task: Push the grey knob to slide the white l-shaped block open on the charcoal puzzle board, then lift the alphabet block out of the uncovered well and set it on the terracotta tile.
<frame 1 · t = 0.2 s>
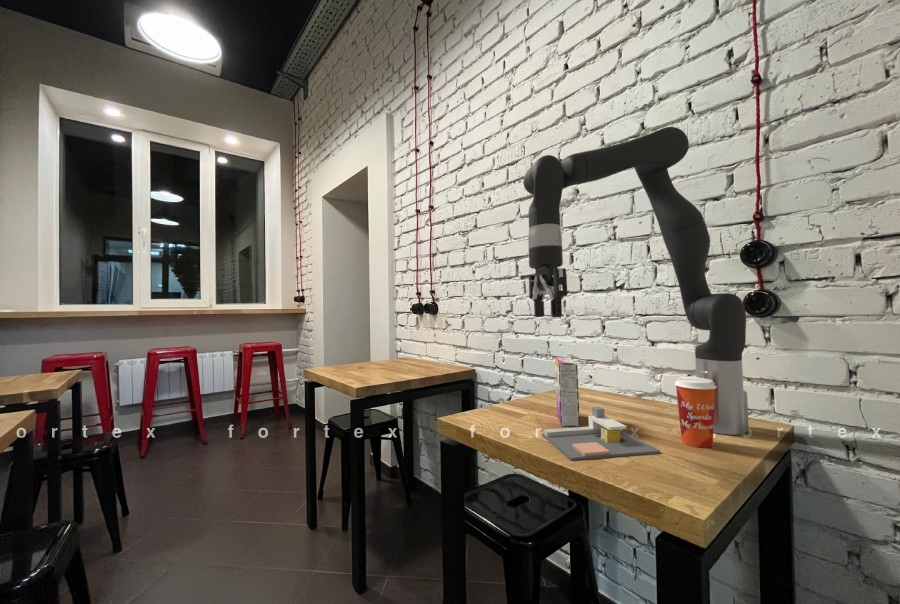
hand: (547, 316, 81), 28 cm above the table, tool pointing down, fingers open, 8 cm apart
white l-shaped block: (606, 421, 82), point 4 cm above the table, slide at 0.0 cm
puzzle board: (596, 443, 79), on the table
paper cup: (697, 444, 78), on the table
candy bar box: (567, 421, 96), on the table
alphabet block: (610, 442, 81), resting in puzzle board
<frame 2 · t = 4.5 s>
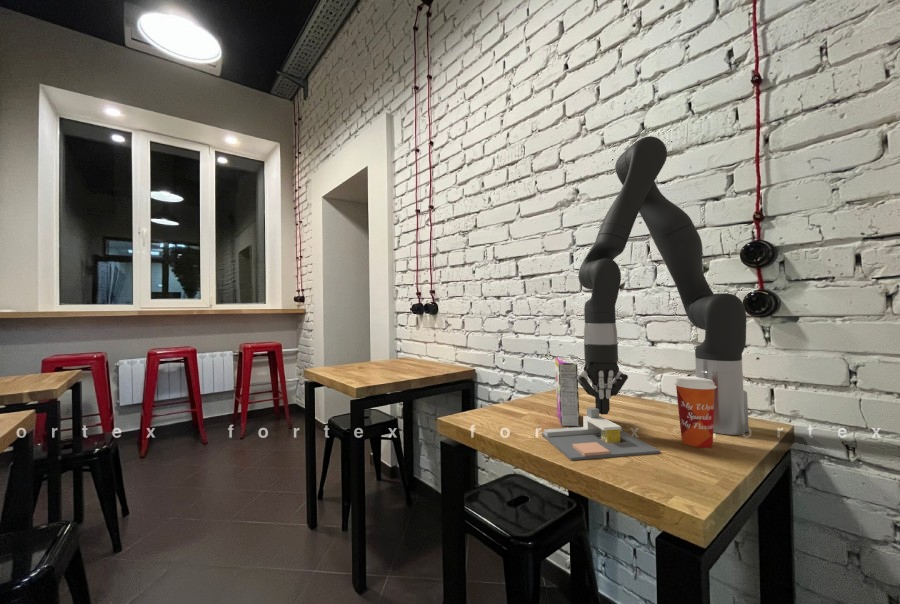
hand: (602, 413, 86), 5 cm above the table, tool pointing down, fingers closed
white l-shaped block: (601, 422, 82), point 4 cm above the table, slide at 1.4 cm, touching gripper
everything else where it was.
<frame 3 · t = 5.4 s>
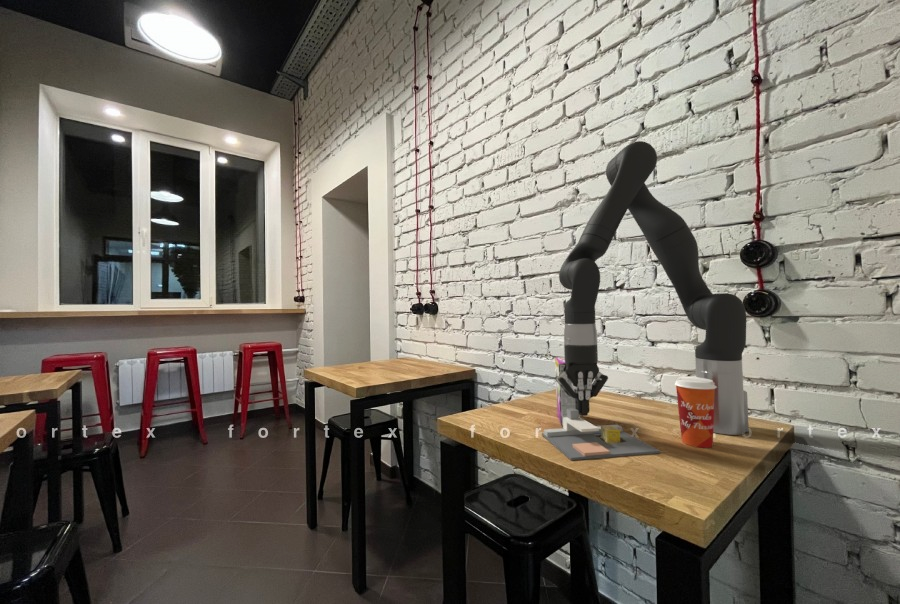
hand: (582, 414, 85), 5 cm above the table, tool pointing down, fingers closed
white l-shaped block: (579, 423, 81), point 4 cm above the table, slide at 6.6 cm, touching gripper
everything else where it was.
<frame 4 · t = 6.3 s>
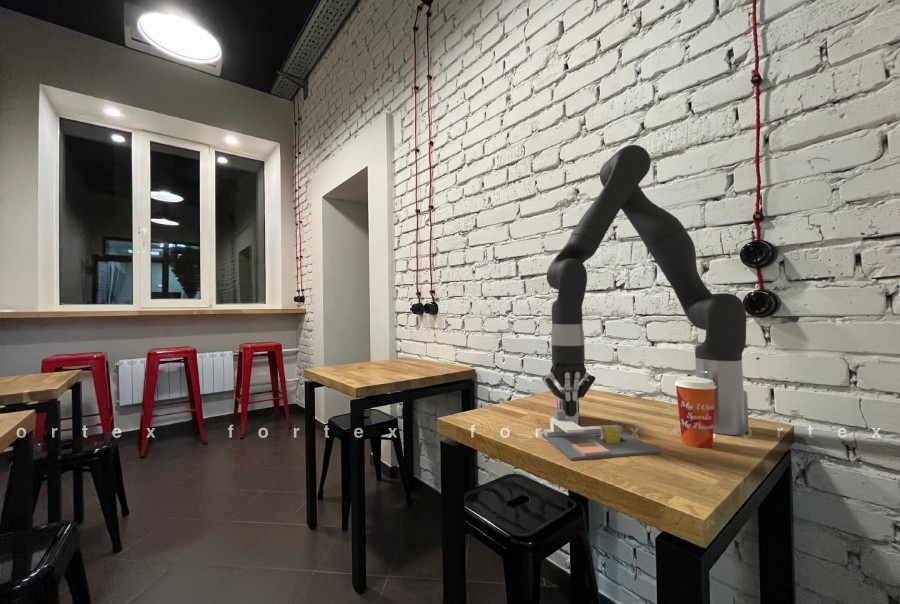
hand: (569, 415, 84), 5 cm above the table, tool pointing down, fingers closed
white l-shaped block: (566, 424, 81), point 4 cm above the table, slide at 9.9 cm, touching gripper
everything else where it was.
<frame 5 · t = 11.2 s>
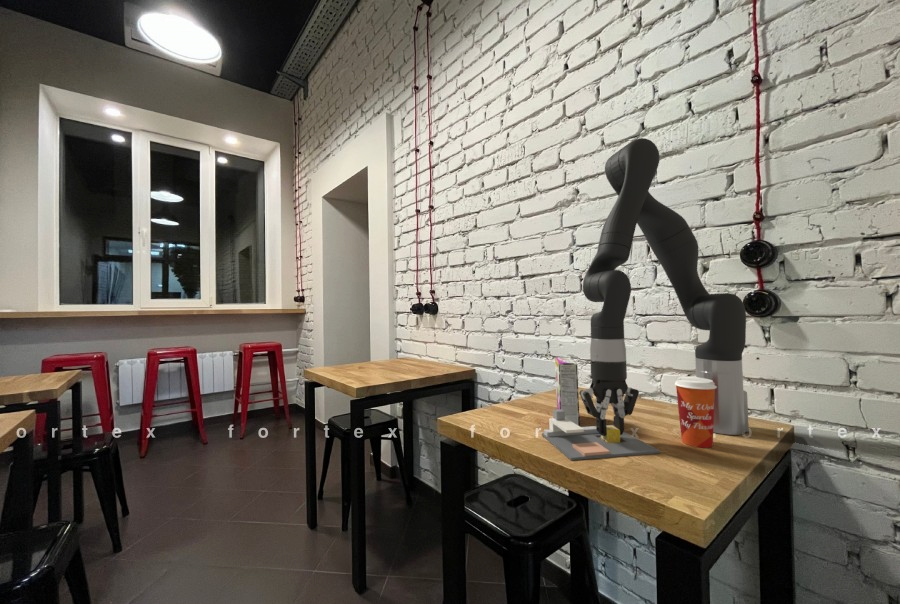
hand: (610, 433, 81), 2 cm above the table, tool pointing down, fingers closed on alphabet block, 3 cm apart
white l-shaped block: (565, 424, 81), point 4 cm above the table, slide at 10.0 cm
alphabet block: (610, 441, 81), resting in puzzle board, touching gripper
everything else where it was.
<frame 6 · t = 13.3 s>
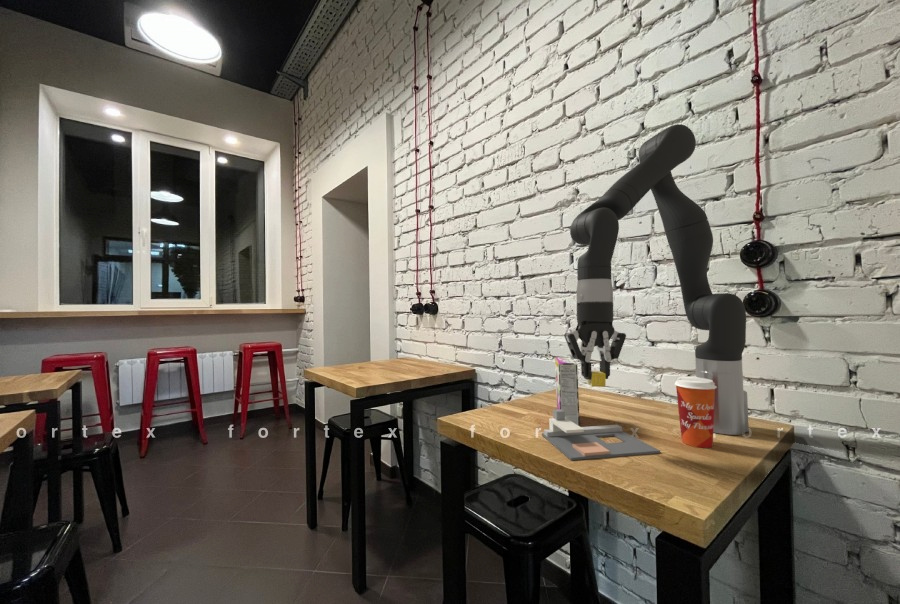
hand: (595, 378, 78), 15 cm above the table, tool pointing down, fingers closed on alphabet block, 3 cm apart
alphabet block: (595, 386, 78), point 13 cm above the table, touching gripper
everything else where it was.
when the fingers open (4 cm above the table, at t = 15.9 s): alphabet block stays where it is, resting on puzzle board.
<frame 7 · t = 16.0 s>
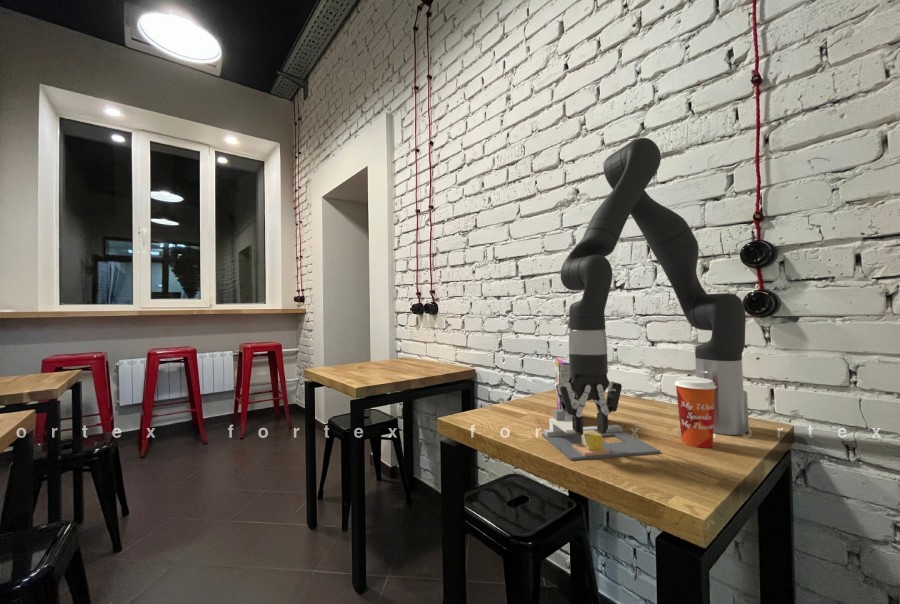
hand: (590, 432, 74), 4 cm above the table, tool pointing down, fingers open, 4 cm apart
alphabet block: (592, 448, 74), point 1 cm above the table, touching puzzle board
everything else where it was.
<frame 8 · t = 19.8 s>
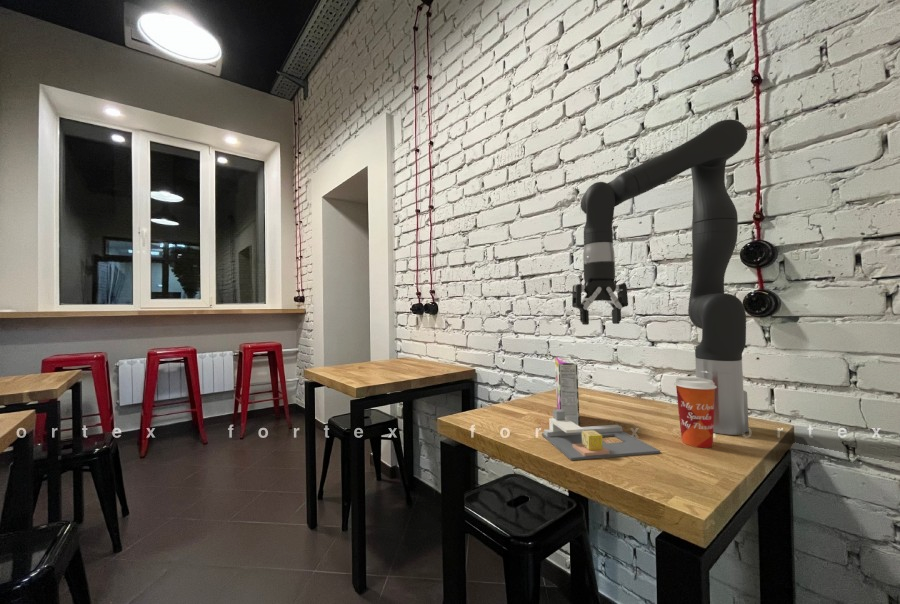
hand: (600, 324, 92), 26 cm above the table, tool pointing down, fingers open, 8 cm apart
nothing on the table moved.
at the end: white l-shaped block slide at 10.0 cm; alphabet block 0.3 cm from the target spot on the puzzle board, point 0.9 cm above the puzzle board's base; the gripper is holding nothing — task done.
